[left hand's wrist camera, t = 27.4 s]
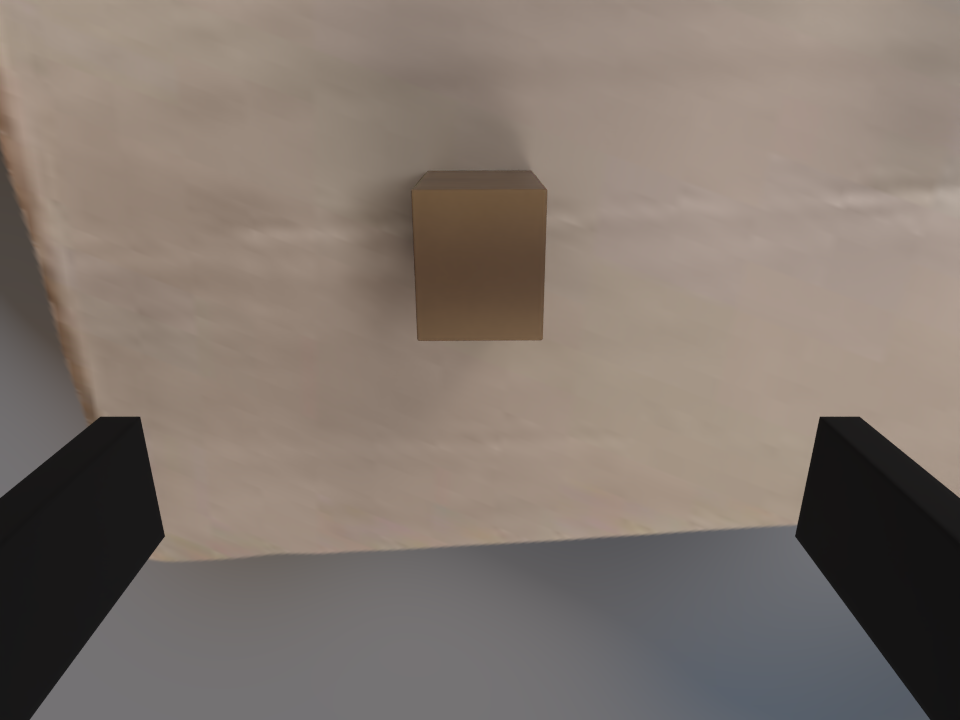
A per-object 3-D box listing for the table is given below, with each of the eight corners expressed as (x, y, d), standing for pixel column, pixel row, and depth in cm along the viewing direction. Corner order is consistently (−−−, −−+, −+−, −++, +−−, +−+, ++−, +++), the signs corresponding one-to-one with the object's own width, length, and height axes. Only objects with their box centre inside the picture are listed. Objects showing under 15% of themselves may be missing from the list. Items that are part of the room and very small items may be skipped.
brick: (529, 290, 40) (542, 340, 31) (430, 291, 40) (417, 341, 31) (532, 170, 37) (547, 188, 29) (427, 170, 37) (411, 189, 29)
